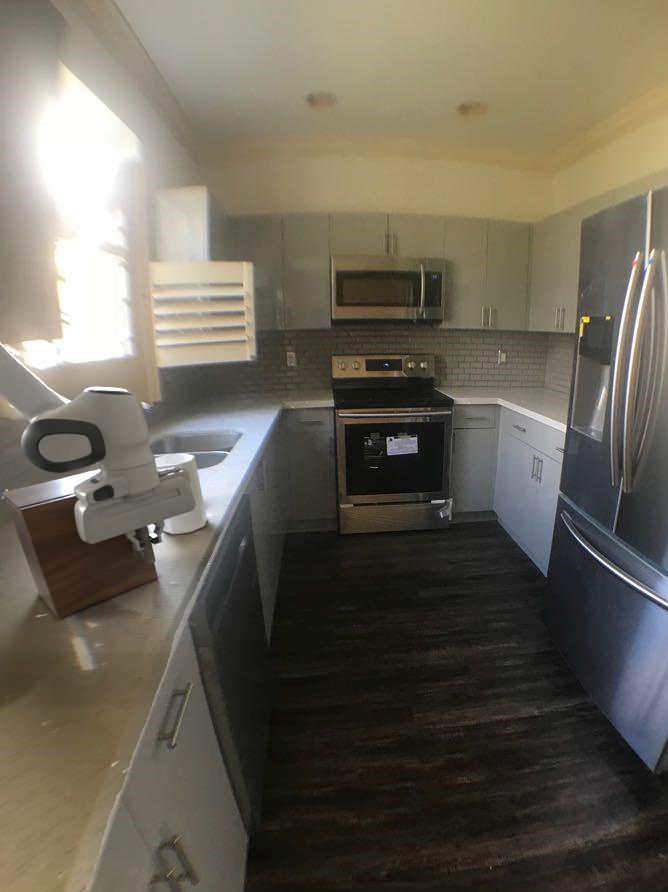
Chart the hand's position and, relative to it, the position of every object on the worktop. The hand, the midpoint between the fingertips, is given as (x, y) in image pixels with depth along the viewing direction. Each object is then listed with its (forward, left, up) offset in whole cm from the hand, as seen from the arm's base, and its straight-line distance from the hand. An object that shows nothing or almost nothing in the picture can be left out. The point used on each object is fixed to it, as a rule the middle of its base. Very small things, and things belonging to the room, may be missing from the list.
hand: (148, 546), depth 88 cm
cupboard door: (-7, +4, -11) cm, 13 cm away
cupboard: (-7, +14, -11) cm, 19 cm away
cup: (+19, +28, -11) cm, 36 cm away
